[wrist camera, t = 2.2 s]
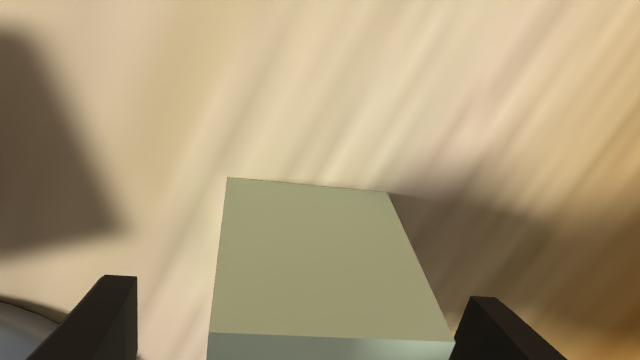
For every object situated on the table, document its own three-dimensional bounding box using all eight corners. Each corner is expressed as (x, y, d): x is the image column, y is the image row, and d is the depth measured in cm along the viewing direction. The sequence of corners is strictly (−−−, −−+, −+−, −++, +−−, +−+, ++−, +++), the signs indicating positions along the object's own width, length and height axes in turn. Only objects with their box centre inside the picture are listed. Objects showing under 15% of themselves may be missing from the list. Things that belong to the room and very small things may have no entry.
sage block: (355, 309, 14) (397, 484, 10) (215, 302, 14) (195, 487, 9) (386, 191, 12) (455, 342, 8) (227, 176, 12) (208, 332, 7)
